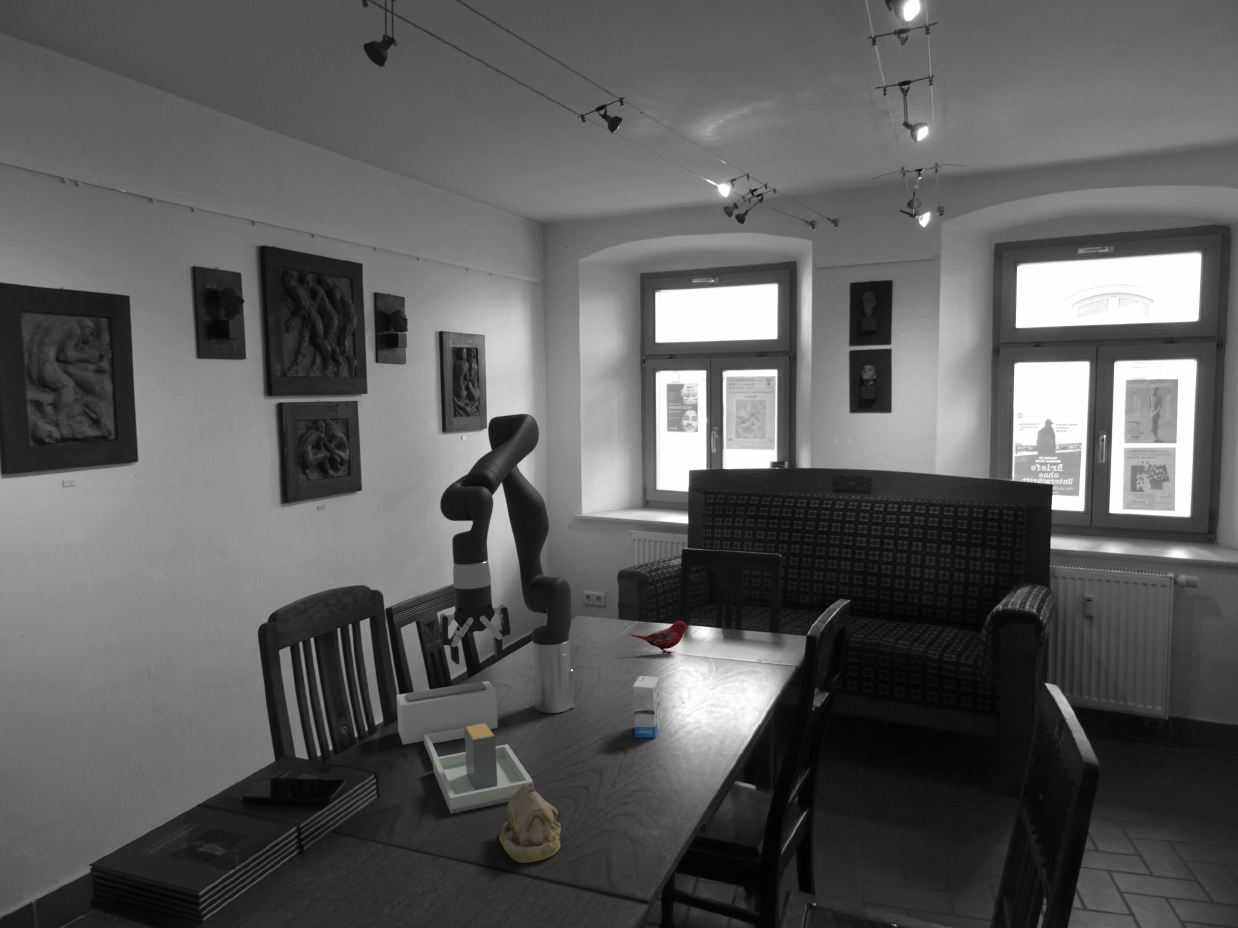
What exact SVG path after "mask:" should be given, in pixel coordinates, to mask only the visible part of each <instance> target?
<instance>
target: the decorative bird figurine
mask: <svg viewBox="0 0 1238 928" xmlns="http://www.w3.org/2000/svg"><path fill="white" fill-rule="evenodd" d="M686 629H689V626H688V625H686V623H685V622H684V621H683V620H678V621H676V622H674V623H673V624H672V625H670V627H667V628H665V629H660V630H658V631H656V632H653V633H651V634H648V635H640V634H639V635H638V634H630V636H632V637H634V638H638V639H641V640H644V641H645V642H647V644H649V645H650V646H652V647H656V648H658V649H660V650H661V651H659V652H658V654H660V653H661V654H668V655H669V654H673V653H675V651H671V650H667V649H672V648H673V647H675V646H677V645H678V644H679V643H680V642H681V640H682V639H683V636H684V634H685V632H686Z"/></svg>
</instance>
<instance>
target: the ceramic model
mask: <svg viewBox="0 0 1238 928" xmlns="http://www.w3.org/2000/svg"><path fill="white" fill-rule="evenodd" d="M506 807H507V808H506V809H507V810H506V811H507V814H508V815H509V820H507V822H504V823H503V826H502V829H501V831H500V835H499V837H498V840H499V842H500V844H501V845H502V847H503V849H504V850H505V852H506V853H507V854H508V855H509V856H510V857H511V859H513V860H514V861H516V862H518V863H524V864H526V863H533V862H538V861H542V860H545V859H548V858H550V857H553V856H554V855H555V854H556V853H557V852H558V851H559V850H560V848H561V842H560V836H561V832H562V827H561V826H562V824H561V822H558V821H557V816H558V815H559V813H558V809H557V807H555V806H553V805H552V804H550V803H549V802H547V801H546V800H545V798H543V797H542V795H540V794H539V793H538V792H537V791H536V789H535V786H534V783H533V784H528V783H525V784H523V785H522V787H521V788H520V789H519V790H518V791H517V792H516V793H514V795H513V796H512V798H511V799H510V801H509V802H507V806H506Z"/></svg>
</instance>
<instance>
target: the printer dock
mask: <svg viewBox="0 0 1238 928" xmlns="http://www.w3.org/2000/svg"><path fill="white" fill-rule="evenodd" d="M396 708H397V709H396V711H397V727H398V728H397V730H398V734H399V735H398V736H399V738H400V740H401V743H402V745H407V744H414V743H419V742H423V744H424V748H425V749H426V752H427V753H428V757H429V759H430V761H431V764H433V758H436V757H439V756H438V753H437V751H436V749H435V747H434V744H437V743H444V742H449V741H454V740H459V739H460V740H461V739H465V729H464V726H470V725H476V724H481V723H487V725H488V726H489V728H490V729H491V730H493V729H498V727H499V725H498V723H499V721H498V699H497V690H496V688H495V687H494V686H493V685H492V683H491V682H490V681H489V680H486V681H476V682H470V683H464V684H458V685H457V684H456V685H448V686H444V687H438V688H437V687H436V688H431V689H425V690H424V689H423V690H417V691H412V692H406V693H402V694H401V693H400V694H396Z"/></svg>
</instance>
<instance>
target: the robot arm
mask: <svg viewBox="0 0 1238 928" xmlns="http://www.w3.org/2000/svg"><path fill="white" fill-rule="evenodd" d="M487 427H488V428H487V432H488V433H487V434H488V440H489V445H490V448H491V449H490V451H488V452H487V453H485V454H484V455H482V456H481V457H480V458H479V459H478V460H477V461H476V462H475V463H474V465H473V466H472V467H471V469H470V470H469V471H468V472H467V473H466V474H465V475H463V476H461V477H460V478H458V479H457V480H455V481H454V482H453V483H451V484H450V485H448V487H446V488H445V490H444V492H443V493H442V495H441V498H440V503H439V507H440V508H439V509H440V511H441V514H442V515H443V516H444V518H446V519H447V520H449V521H452V522H472V525H471V527H470V530H467V531H461V532H459V533H457V534H454V536H453V537H452V541H451V542H452V544H451V546H452V547H451V548H452V557H453V558H452V562H453V567H452V568H453V569H452V578H453V579H452V581H453V593H454V594H453V595H454V609H455V610H454V612H453V613H452V614H445V613H441V614H440V616H439V642H440V643H441V644H442V645H443V646H449V651H450V654H449V655H450V659H451V661H452V663H454V664H455V665H459V664H460V651H459V650H460V649H459V646H458V644H459V643H460V641H461V640H462V639H463V638H464V636H465V635H466V633H468V634H473V633H475V632H484V631H485V630H488V631H489V632H490V633H491V634H492V635H493V636H494V637H492V638H493V652H494V657H495V658H500V657H501V655H502V654H503V650H504V649H503V638H504V637H506V636H509V635H511V626H510V625H511V624H510V615H509V610H508V607H507V606H505V605H504V604H500V606H499V607H493V601H492V600H493V599H492V597H493V596H492V583H491V581H492V577H491V571H490V570H491V569H490V565H489V554H488V537H489V536H488V535H489V529H490V522H491V518H492V513H493V510H494V498H493V496H494V494H495V493H496V492H497V490H498V489H499V488H500V486H501V485H502V489H503V494H504V498H505V503H506V508H507V513H508V518H509V523H510V528H511V532H512V535H513V538H514V539H513V540H514V543H515V544H514V545H515V549H516V555H517V560H518V561H517V562H518V566H519V574H520V583H521V584H520V585H521V592H522V597H523V602H524V604H525V607H526V608H527V609H528V610H529V611H531V612H533V613H538V614H546V615H547V616H546V623H545V624H542V625H540V626H537V627H535V628H534V629H533V630H532V633H531V640H532V641H531V642H532V661H533V662H532V663H533V684H534V685H533V688H534V692H533V693H534V709H535V710H536V711H537V712H539V713H542V714H543V713H544V714H559V713H562V712H565V711H568V710H570V709H574V708H575V693H574V692H575V691H574V687H575V686H574V670H573V669H572V668H571V657H570V656H571V655H570V653H571V652H570V631H571V625H572V590H571V585H570V584H569V582H568V581H567V579H566V578H563V577H558V576H557V577H556V576H546V575H544V572H543V568H542V563H541V554H542V551H543V548H544V545H545V543H546V540H547V538H548V535H549V531H550V521H549V517H548V513H547V507H546V503H545V500H544V498H543V497H542V495H541V494H540V492H539V491H538V490H537V489H536V487H534V486H533V484H532V483H530V481H529V480H528V479H527V478H526V477H525V476H524V474H523V473H522V472H521V470H520V468H519V467H518V465H519V463H520V462H521V461H523V460H524V459H525V458H526V457H527V456H529V454H531V453H532V452H533V451H534V450H535V448H536V447H537V445H538V444H539V443H538V442H539V438H540V429H539V425H538V423H537V420H536V418H534V417H533V415H531V414H529V413H517V414H507V415H501V416H495V417H492V418H491V419H490V420H489V422H488V425H487ZM495 615H497V617H498V618H499V619H500V625H501V629H499V630H498V629H497V627H495V625H493V623H492V620H493V618H494V616H495ZM453 621H455V622H456V623H457V625H456V627H455V629H454V630H453V633H452V634H451V637H450V638H449V626H451V624H452V622H453Z"/></svg>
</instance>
